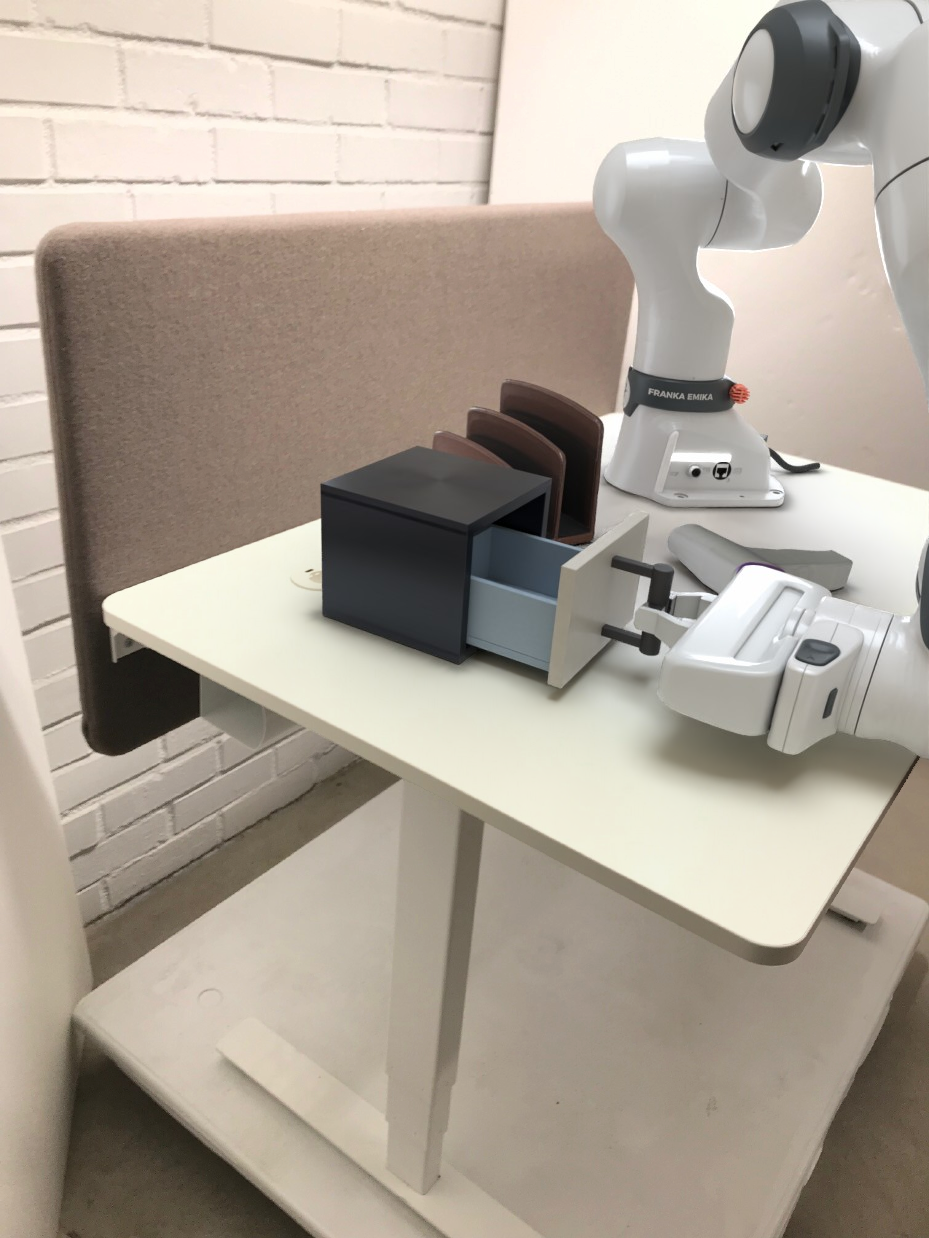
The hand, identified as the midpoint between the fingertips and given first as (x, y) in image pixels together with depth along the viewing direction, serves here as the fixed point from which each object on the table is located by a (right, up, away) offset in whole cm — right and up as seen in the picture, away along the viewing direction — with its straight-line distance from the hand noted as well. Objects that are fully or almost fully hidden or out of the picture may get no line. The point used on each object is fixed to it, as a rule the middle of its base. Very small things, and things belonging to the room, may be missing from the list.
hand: (645, 607), depth 69 cm
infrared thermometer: (+16, +3, +22) cm, 27 cm away
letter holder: (-9, +10, +33) cm, 36 cm away
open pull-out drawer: (-7, -2, +6) cm, 9 cm away
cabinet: (-17, 0, +11) cm, 20 cm away
